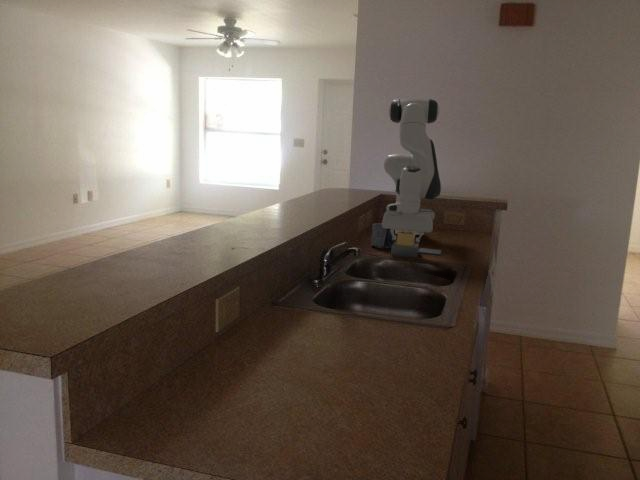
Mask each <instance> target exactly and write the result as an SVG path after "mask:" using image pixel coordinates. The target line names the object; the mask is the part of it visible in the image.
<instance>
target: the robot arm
mask: <svg viewBox="0 0 640 480" xmlns="http://www.w3.org/2000/svg"><path fill="white" fill-rule="evenodd" d="M438 103H439V102H437V100H435V99H430V98H429V99H427V98H426V99H425V98H417V97H415V98H403V99H402V98H401V99H400V98H396V99H393V100H392V101H391V102H390V104H389V107H388V117H389V118H390V120H391V121H392V122H393V123H395V124H399V140H400V141H399V143H400V146H401V147H402V148H403V149H404V150H405V151H407V152H409V153H391V154H388V155H387V156H386V157H385V159H384V162H383V168H384V171H385V173H387V175H389V177H391V180H393V182H394V185H395V193H396V196H395V197H396V198H395V202H393V203H390V204H389V203H388V205H386V211H385V212H384V214H383V216H382V221H381V223H382V227H383V228H386V229H390V232H391V234H392V236H393V237H392V240H396V241H397V236H398V232H399V231H408V232H415V236H418V237H415V244H419V243H420V240H421V238H422V236H424V235H425V234H424V233H426V234H427V233H428V234H429V233H432V232H433V221H434V219H435V216H436V214H435V211H434V210H432V209H431V208H428V209H426V208H421V201H422V200H421V199H425V200H431V201H433V200H436V198H438V197H440V195H441V192H442V182H441V178H440V174H439V168H438V161H437V159H438V158H437V154H436V149H435V145H434V142H433V141H434V140H432V139H430V138H429V136H428V134H427V124H428V125H429V124H433V123H435V122H436V121H437V120H438V117H439V115H440V107H439V104H438ZM394 229H395V235H396V236H395V235H394V233H393V232H394Z"/></svg>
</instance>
